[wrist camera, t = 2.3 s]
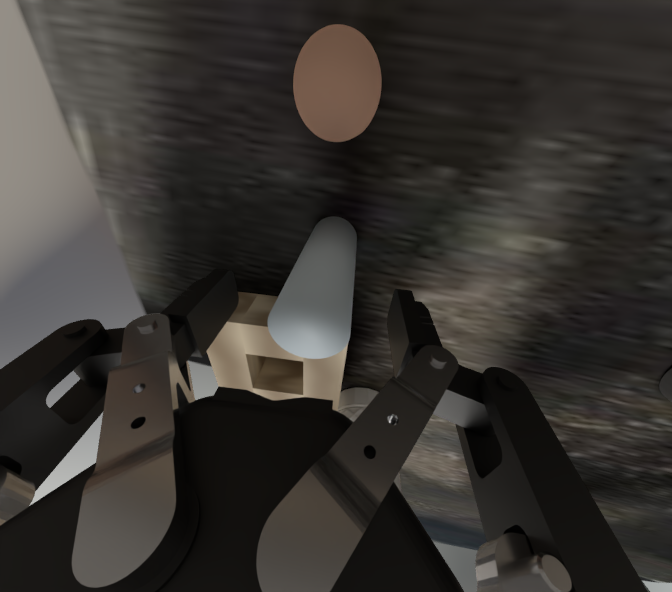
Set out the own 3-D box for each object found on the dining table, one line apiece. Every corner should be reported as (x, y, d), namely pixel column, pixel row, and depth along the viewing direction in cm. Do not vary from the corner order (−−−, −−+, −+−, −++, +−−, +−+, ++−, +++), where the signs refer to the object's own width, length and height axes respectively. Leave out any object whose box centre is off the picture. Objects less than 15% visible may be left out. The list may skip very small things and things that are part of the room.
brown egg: (381, 63, 12) (390, 28, 8) (370, 142, 14) (373, 146, 10) (316, 57, 12) (292, 20, 8) (314, 136, 14) (294, 138, 10)
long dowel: (359, 219, 17) (355, 302, 9) (353, 262, 19) (345, 363, 11) (312, 213, 17) (263, 291, 9) (311, 257, 19) (270, 353, 11)
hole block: (351, 305, 21) (349, 337, 18) (339, 385, 28) (336, 418, 25) (220, 289, 22) (195, 317, 18) (240, 371, 28) (224, 403, 25)
